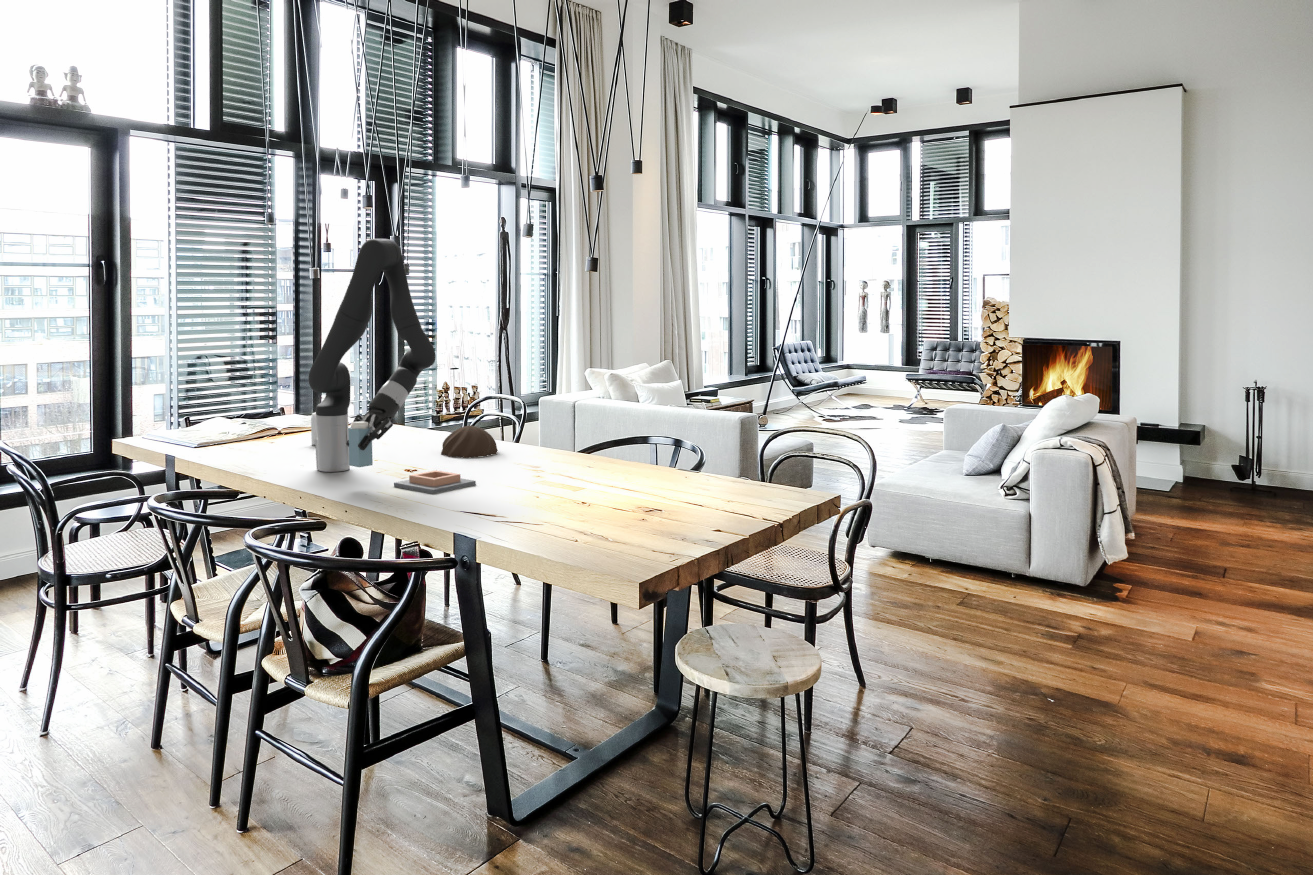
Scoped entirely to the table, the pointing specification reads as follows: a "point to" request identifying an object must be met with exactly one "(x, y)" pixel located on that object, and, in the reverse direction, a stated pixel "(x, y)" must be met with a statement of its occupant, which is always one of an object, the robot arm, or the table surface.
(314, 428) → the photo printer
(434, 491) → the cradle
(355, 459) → the ball-topped blue post
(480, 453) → the decorative dome
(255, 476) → the table surface
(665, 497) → the table surface
